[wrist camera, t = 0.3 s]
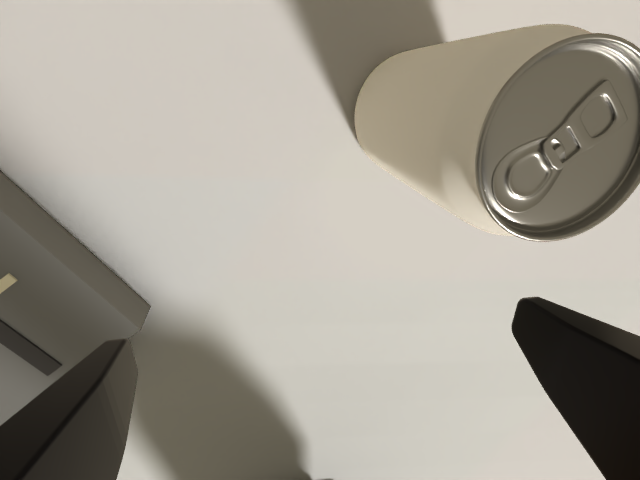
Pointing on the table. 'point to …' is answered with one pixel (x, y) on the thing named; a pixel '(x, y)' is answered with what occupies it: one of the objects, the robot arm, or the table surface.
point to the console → (51, 301)
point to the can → (511, 127)
